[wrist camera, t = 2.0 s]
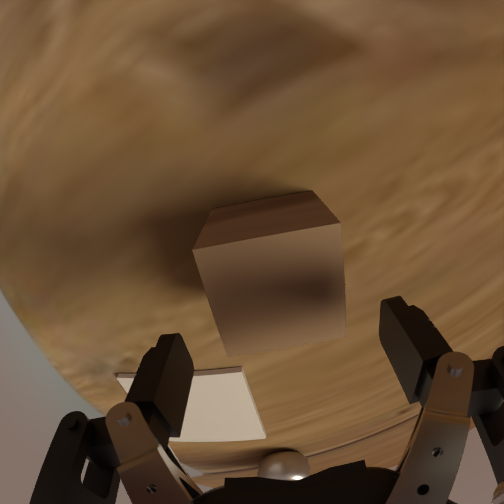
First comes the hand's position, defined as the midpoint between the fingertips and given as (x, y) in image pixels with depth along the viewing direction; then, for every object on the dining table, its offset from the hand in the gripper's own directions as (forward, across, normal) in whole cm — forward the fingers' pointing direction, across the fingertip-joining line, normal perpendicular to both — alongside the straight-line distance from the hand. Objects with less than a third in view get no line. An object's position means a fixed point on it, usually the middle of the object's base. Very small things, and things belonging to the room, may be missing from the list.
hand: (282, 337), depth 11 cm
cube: (+8, 0, -1) cm, 8 cm away
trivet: (+8, +10, +16) cm, 20 cm away
